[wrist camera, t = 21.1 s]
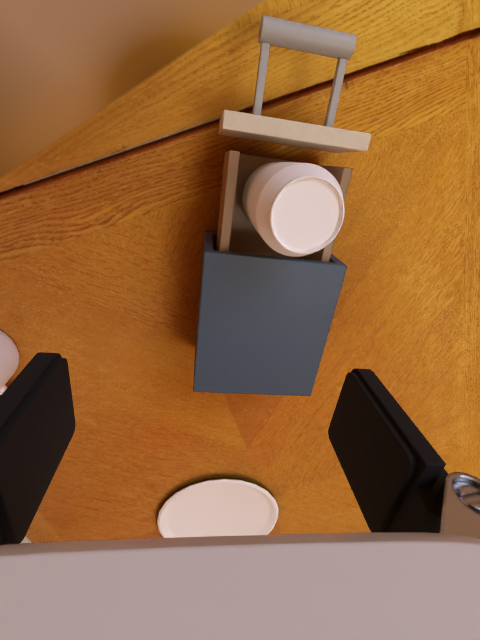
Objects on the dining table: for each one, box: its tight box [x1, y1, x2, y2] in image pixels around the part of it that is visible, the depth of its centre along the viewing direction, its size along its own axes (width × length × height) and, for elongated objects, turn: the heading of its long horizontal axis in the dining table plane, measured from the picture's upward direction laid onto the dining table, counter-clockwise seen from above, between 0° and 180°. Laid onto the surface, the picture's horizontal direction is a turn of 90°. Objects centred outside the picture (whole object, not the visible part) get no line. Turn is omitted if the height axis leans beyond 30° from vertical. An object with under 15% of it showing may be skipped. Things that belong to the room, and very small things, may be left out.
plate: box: [157, 478, 278, 538], centre depth 55 cm, size 21×21×1 cm
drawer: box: [216, 15, 371, 262], centre depth 28 cm, size 20×11×7 cm, turn 173°
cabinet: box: [193, 231, 347, 396], centre depth 34 cm, size 15×13×9 cm
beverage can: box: [242, 162, 344, 257], centre depth 26 cm, size 6×6×12 cm
